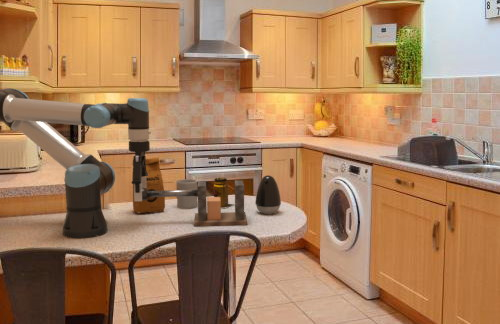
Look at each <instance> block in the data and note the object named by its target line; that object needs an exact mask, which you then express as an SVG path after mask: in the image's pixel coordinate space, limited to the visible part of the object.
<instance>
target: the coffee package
mask: <svg viewBox="0 0 500 324" xmlns="http://www.w3.org/2000/svg"><path fill="white" fill-rule="evenodd" d="M159 159H160V157H152V158H146V159H145V161H146V171H147V173H148V176H145V177H146V188H147V189H148V191H163V190H165V187H164V181H163V175H162V172H161V166H160V160H159ZM133 167H134V160H133V159H132V168H133ZM131 177H132V181H133V171H132V176H131ZM132 181H131V182H132ZM132 207H133V208H132V209H133V211H134V212H135V213H137V214H138V213H139V214H149V213H158V212H164V211H165V207H166V197H148V200H142V201H134V184H132Z"/></svg>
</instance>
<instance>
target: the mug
mask: <svg viewBox="0 0 500 324" xmlns="http://www.w3.org/2000/svg"><path fill="white" fill-rule="evenodd" d="M197 186H198V181H197V179H191V178H189V179H188V178H185V179H179V180H176V190H198V187H197ZM176 202H177V204H176V205H177V208H179V209H185V210H188V209H195V208H198V196H182V197H176Z"/></svg>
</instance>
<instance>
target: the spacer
mask: <svg viewBox="0 0 500 324" xmlns="http://www.w3.org/2000/svg"><path fill="white" fill-rule="evenodd" d="M206 206H207V220H218V219H221V213H222V212H221V209H222V208H221V200H220V197H214V196H209V197H208V196H206Z"/></svg>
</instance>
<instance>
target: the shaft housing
mask: <svg viewBox="0 0 500 324" xmlns="http://www.w3.org/2000/svg"><path fill="white" fill-rule="evenodd" d="M197 190H198V196H197V202H198V206H197V212H195V213H194V220H193V227H195V228H196V227H223V226H224V227H225V226H227V227H228V226H232V227H233V226H248V218H247V215H246V211H245V184H244V180H234V212H233V211H231V212H226V211H225V212H221V219H218V220H207V180H201V181H199V180H198V181H197Z"/></svg>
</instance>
